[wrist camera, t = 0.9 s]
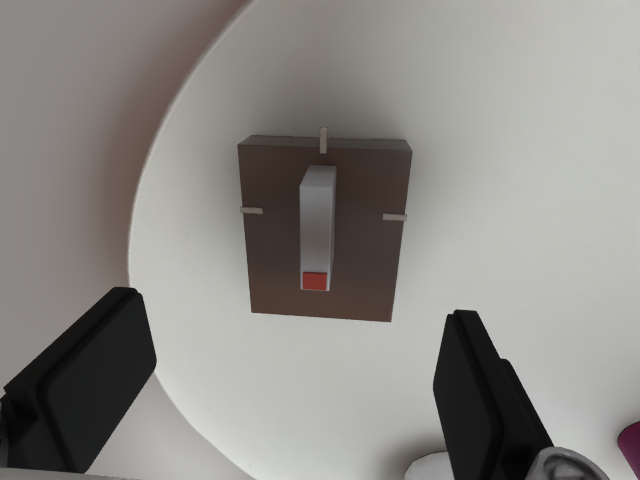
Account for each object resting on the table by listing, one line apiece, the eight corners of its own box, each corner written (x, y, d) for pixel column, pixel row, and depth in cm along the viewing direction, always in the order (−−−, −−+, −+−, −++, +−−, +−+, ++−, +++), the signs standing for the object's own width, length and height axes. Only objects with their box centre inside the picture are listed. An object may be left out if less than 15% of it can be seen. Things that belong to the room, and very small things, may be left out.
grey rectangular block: (309, 164, 21) (298, 186, 17) (336, 165, 21) (332, 188, 17) (309, 255, 24) (299, 292, 20) (333, 257, 24) (329, 294, 20)
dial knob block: (247, 117, 23) (232, 125, 20) (410, 122, 23) (417, 130, 20) (259, 289, 29) (249, 314, 26) (389, 298, 28) (392, 324, 25)
